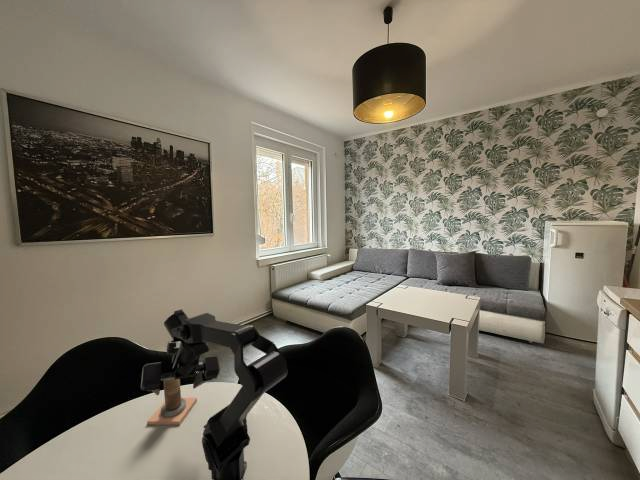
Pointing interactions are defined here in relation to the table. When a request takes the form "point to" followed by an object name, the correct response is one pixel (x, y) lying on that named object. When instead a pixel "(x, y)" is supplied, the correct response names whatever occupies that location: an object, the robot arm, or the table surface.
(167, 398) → the tamper
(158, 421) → the tile rest
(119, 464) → the table surface
